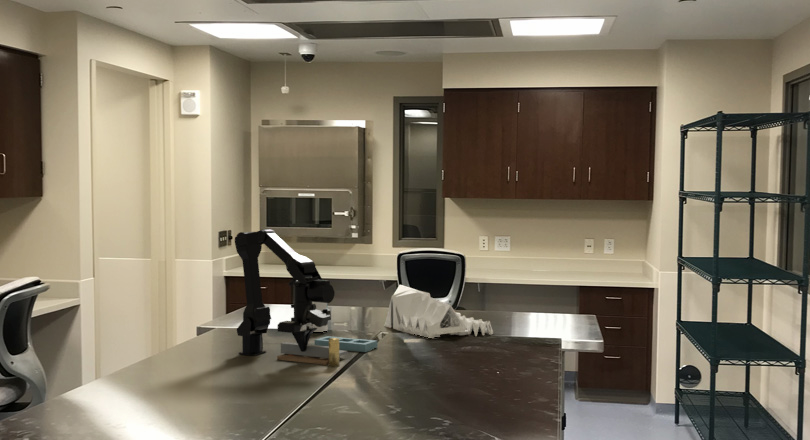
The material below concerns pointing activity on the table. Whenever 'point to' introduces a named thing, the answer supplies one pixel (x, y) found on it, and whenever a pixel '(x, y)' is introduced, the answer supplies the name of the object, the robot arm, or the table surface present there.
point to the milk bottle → (321, 307)
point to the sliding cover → (307, 350)
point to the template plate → (304, 359)
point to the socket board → (349, 343)
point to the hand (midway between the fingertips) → (303, 351)
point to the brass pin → (334, 352)
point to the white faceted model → (428, 316)
